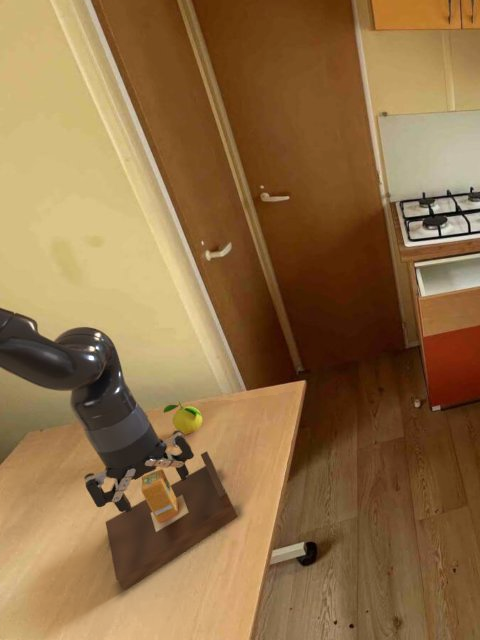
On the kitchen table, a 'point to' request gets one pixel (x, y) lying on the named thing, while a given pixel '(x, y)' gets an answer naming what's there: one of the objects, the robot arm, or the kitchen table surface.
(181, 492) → the shelf
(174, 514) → the supplement box
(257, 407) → the kitchen table surface
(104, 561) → the kitchen table surface
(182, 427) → the lemon
